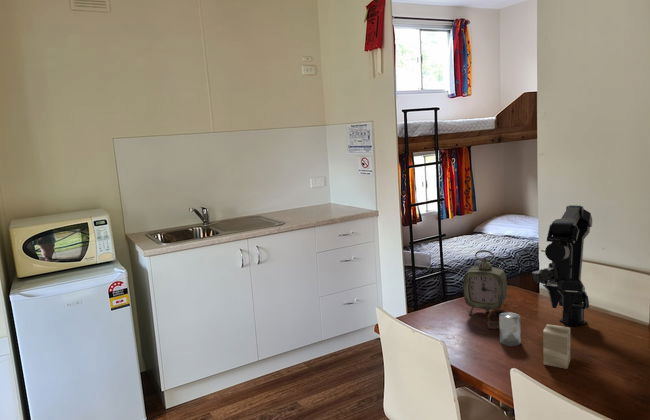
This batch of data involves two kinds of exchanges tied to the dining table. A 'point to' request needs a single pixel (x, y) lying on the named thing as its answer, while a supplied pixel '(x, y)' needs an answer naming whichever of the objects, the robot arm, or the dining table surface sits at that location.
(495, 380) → the dining table surface
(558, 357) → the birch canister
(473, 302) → the tabletop clock
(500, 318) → the grey tin
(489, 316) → the pottery mug
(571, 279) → the robot arm
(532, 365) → the dining table surface
